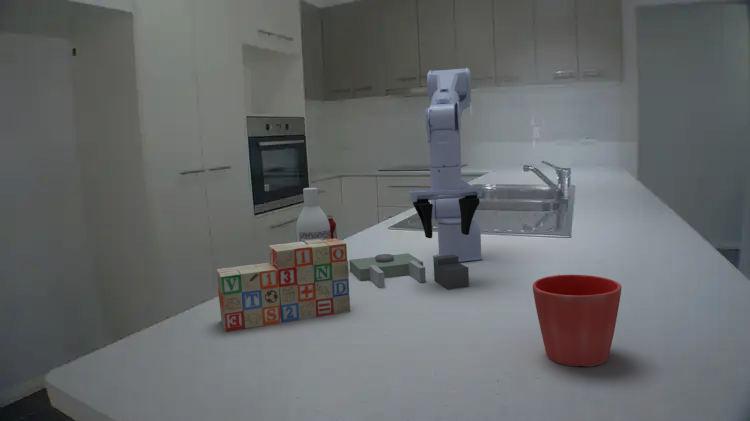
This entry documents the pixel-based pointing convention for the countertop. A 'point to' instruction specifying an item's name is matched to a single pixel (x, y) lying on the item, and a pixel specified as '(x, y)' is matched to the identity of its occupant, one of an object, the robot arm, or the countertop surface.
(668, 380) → the countertop surface
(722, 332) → the countertop surface
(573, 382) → the countertop surface
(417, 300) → the countertop surface
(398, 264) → the forked grey-green block
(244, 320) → the stack of blocks
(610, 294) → the flower pot
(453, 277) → the grey block with ledge
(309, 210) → the bath foam
